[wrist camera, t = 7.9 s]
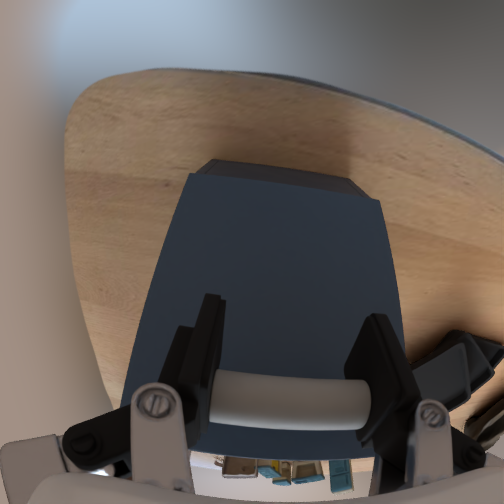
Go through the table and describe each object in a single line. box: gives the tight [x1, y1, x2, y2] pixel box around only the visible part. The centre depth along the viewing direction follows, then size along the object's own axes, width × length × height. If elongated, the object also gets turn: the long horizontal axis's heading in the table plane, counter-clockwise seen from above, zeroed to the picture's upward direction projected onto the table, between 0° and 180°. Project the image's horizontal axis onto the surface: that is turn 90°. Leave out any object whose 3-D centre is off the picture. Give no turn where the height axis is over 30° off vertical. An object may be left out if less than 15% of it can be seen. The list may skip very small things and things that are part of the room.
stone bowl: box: [464, 398, 504, 451], centre depth 44 cm, size 25×25×9 cm
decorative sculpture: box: [214, 456, 259, 478], centre depth 52 cm, size 16×10×7 cm, turn 174°
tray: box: [410, 330, 504, 413], centre depth 37 cm, size 30×23×5 cm
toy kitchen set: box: [254, 459, 354, 495], centre depth 48 cm, size 18×14×11 cm
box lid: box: [120, 173, 406, 461], centre depth 13 cm, size 16×14×5 cm
